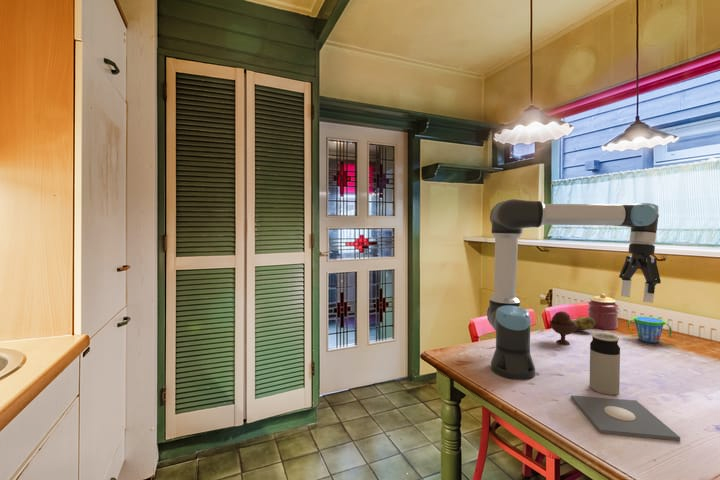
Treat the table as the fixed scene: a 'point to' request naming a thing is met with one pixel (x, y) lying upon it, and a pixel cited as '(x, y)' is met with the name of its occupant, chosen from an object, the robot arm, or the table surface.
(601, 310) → the canister
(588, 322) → the potato
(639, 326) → the snack cup
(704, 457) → the table surface
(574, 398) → the mat
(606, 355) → the travel mug
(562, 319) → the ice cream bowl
